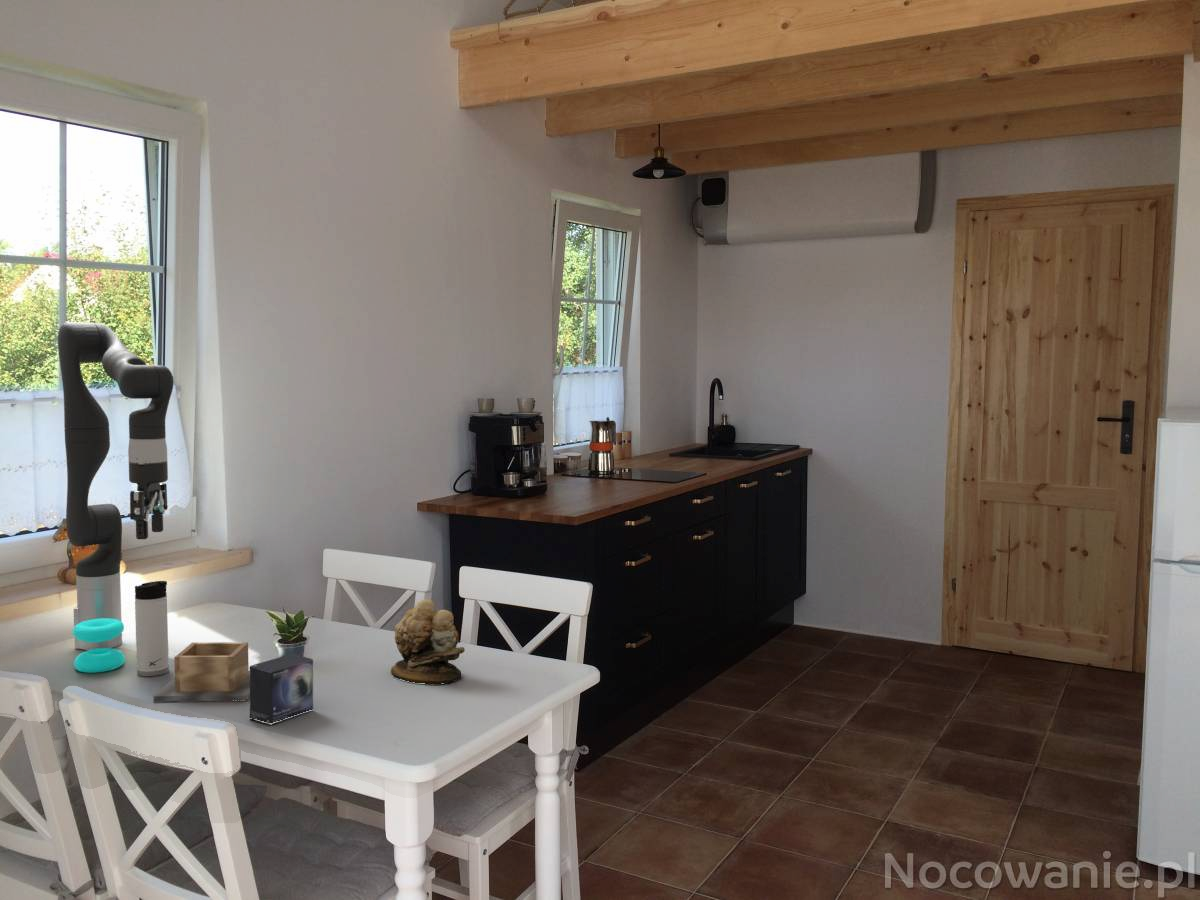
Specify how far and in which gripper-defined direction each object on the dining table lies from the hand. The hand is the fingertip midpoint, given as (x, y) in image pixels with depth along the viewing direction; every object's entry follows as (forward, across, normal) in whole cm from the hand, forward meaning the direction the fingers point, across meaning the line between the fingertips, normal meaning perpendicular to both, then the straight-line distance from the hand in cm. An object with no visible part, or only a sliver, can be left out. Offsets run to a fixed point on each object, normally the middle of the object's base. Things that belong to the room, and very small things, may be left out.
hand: (150, 535), depth 216 cm
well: (+30, +11, +16) cm, 36 cm away
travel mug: (+30, 0, 0) cm, 30 cm away
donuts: (+30, -4, -13) cm, 33 cm away
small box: (+30, +27, +34) cm, 53 cm away
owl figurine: (+30, +3, +59) cm, 66 cm away
